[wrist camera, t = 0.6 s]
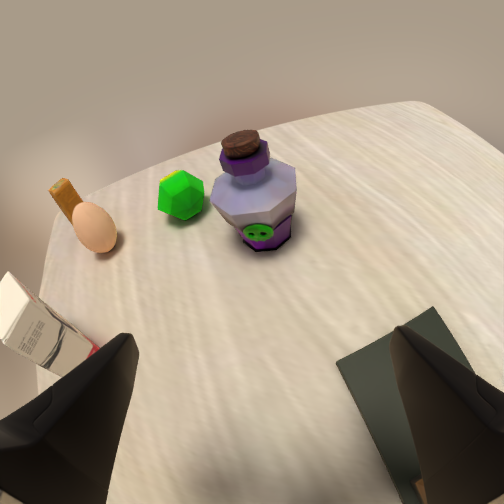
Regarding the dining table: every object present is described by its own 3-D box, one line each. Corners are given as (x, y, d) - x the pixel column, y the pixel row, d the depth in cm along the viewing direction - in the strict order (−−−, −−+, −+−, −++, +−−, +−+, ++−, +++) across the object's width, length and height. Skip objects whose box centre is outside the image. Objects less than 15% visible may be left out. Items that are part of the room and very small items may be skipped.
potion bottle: (241, 277, 29) (198, 182, 20) (220, 222, 34) (184, 136, 25) (320, 244, 29) (310, 141, 20) (287, 196, 35) (268, 106, 25)
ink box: (110, 354, 26) (29, 296, 17) (89, 391, 24) (0, 345, 15) (72, 323, 30) (6, 267, 21) (54, 354, 27) (-17, 305, 18)
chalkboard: (512, 462, 10) (516, 462, 9) (417, 536, 9) (419, 538, 9) (431, 308, 22) (433, 305, 21) (335, 363, 21) (336, 361, 21)
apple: (178, 175, 29) (153, 151, 35) (156, 226, 32) (136, 193, 37) (227, 190, 35) (196, 165, 40) (205, 234, 37) (179, 203, 42)
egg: (119, 227, 39) (90, 186, 33) (130, 245, 36) (97, 200, 30) (92, 249, 38) (60, 210, 31) (100, 269, 34) (63, 228, 28)
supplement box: (103, 226, 40) (68, 178, 33) (89, 242, 39) (51, 195, 31) (94, 221, 42) (61, 176, 34) (81, 236, 40) (45, 192, 33)
